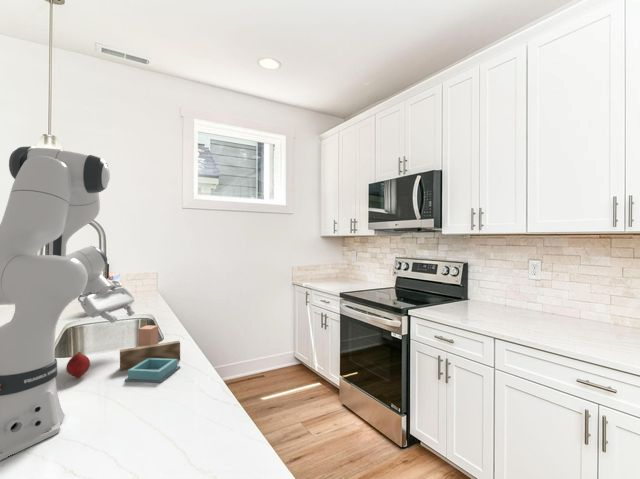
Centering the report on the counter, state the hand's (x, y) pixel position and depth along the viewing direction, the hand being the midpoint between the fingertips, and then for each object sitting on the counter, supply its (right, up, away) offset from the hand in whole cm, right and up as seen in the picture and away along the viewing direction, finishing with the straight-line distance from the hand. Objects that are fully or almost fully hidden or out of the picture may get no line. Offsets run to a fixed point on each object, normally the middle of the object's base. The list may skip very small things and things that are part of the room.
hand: (123, 318), depth 122 cm
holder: (+20, -13, -18) cm, 30 cm away
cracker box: (-50, -12, +71) cm, 87 cm away
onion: (-2, -14, -20) cm, 24 cm away
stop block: (+9, -13, -1) cm, 16 cm away
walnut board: (+15, -13, -9) cm, 22 cm away
